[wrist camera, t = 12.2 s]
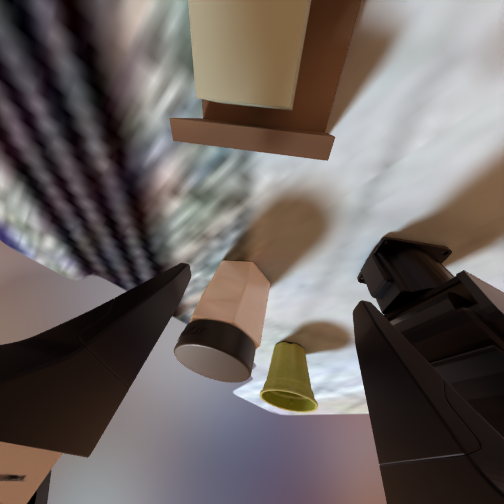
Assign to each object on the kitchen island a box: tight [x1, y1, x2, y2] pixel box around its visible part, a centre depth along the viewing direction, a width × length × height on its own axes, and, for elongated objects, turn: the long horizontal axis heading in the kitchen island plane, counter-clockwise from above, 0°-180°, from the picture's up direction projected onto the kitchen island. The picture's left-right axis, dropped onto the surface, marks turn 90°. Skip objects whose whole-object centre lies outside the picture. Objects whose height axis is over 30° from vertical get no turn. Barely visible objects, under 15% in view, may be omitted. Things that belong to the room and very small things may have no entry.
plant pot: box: [260, 342, 318, 412], centre depth 33 cm, size 9×9×9 cm
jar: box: [174, 260, 270, 382], centre depth 22 cm, size 9×8×12 cm
